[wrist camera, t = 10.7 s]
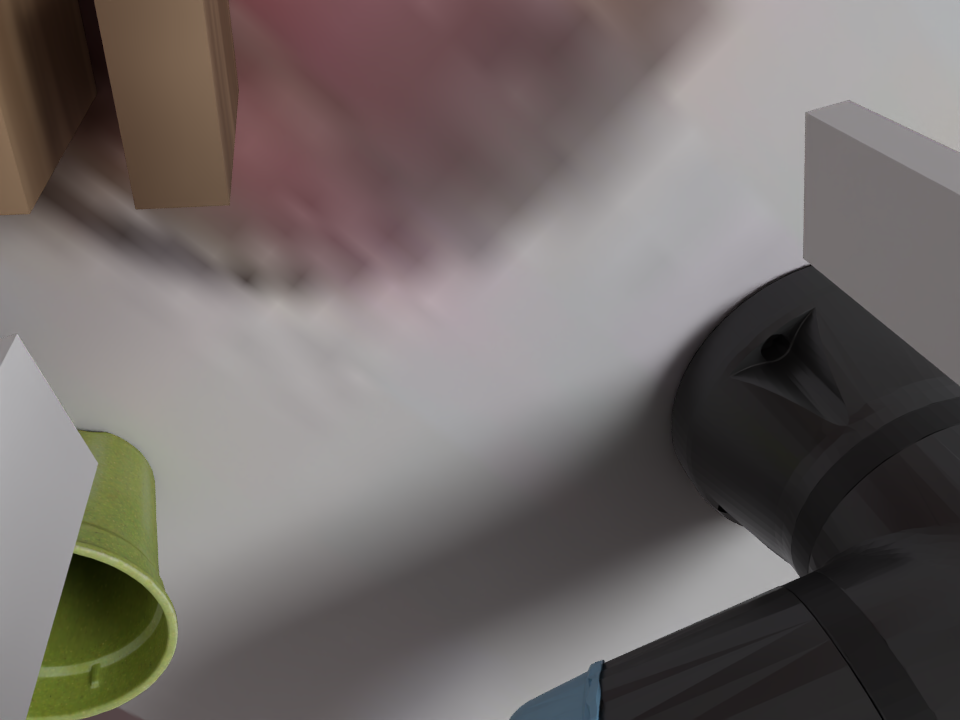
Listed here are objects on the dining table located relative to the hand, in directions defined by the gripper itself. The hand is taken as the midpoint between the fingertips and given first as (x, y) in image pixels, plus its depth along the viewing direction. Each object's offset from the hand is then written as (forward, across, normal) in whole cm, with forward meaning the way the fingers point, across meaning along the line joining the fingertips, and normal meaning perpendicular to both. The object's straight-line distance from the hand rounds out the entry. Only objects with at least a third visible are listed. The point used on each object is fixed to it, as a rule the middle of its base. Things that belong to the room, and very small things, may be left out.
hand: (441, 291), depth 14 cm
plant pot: (+19, +17, +14) cm, 29 cm away
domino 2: (+18, +5, -2) cm, 19 cm away
